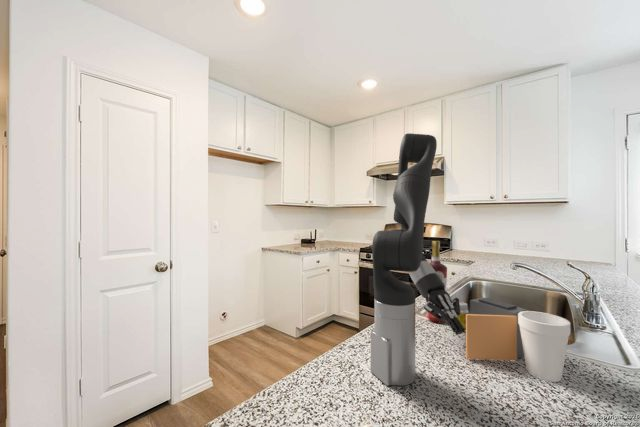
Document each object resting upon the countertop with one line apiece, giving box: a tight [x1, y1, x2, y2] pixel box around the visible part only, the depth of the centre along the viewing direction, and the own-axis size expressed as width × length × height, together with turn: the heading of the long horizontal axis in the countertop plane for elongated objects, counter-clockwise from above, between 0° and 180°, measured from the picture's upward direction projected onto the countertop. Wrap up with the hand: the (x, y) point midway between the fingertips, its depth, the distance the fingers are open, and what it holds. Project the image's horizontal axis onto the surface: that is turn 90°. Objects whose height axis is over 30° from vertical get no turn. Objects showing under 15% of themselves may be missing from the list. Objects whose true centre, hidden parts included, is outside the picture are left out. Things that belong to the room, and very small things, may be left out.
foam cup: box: [518, 310, 571, 383], centre depth 64 cm, size 10×9×13 cm
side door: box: [465, 313, 518, 362], centre depth 69 cm, size 1×12×11 cm, turn 86°
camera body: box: [469, 297, 528, 360], centre depth 77 cm, size 6×12×13 cm, turn 25°
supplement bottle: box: [457, 301, 470, 333], centre depth 89 cm, size 5×5×8 cm
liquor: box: [425, 240, 448, 323], centre depth 97 cm, size 7×7×28 cm
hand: (460, 333), depth 75 cm, fingers closed
